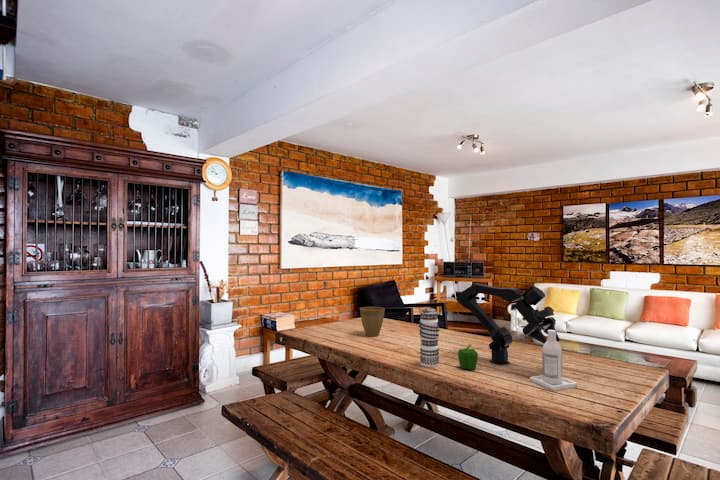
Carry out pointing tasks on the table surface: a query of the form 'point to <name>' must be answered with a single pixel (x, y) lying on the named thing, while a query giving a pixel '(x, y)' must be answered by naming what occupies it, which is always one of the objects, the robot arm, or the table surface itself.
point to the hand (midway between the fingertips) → (553, 342)
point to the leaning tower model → (429, 337)
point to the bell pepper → (467, 358)
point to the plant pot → (372, 320)
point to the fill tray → (565, 385)
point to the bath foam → (552, 360)
